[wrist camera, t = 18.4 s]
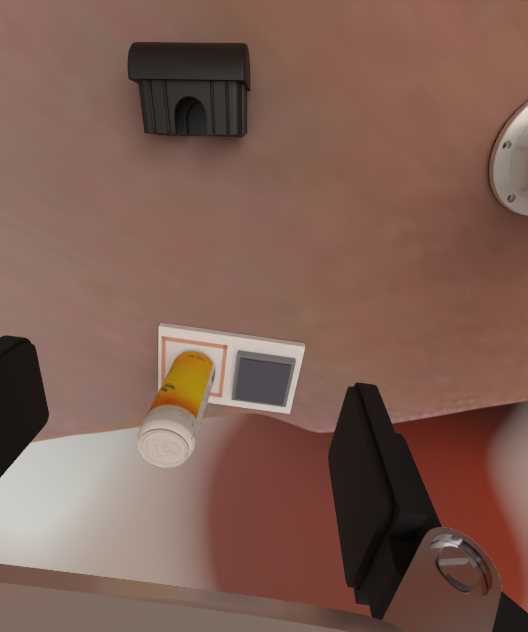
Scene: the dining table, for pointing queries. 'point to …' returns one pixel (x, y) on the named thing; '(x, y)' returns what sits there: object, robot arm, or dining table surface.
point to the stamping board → (238, 365)
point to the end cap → (192, 87)
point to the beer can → (177, 411)
